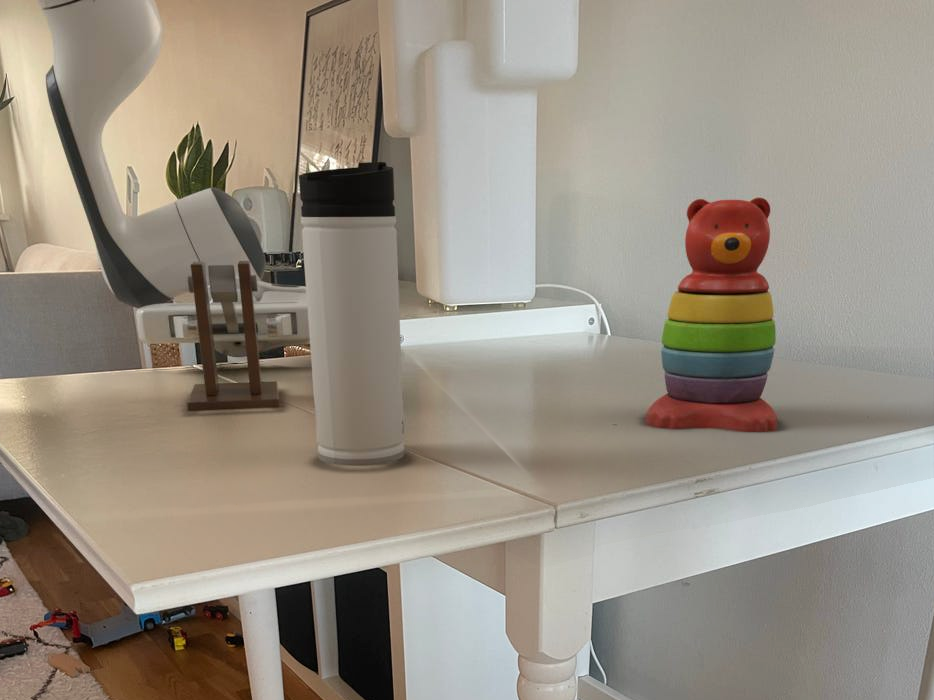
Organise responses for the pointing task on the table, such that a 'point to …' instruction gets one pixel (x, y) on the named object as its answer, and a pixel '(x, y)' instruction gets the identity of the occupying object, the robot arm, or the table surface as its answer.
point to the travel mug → (353, 313)
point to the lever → (225, 298)
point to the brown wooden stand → (212, 391)
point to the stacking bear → (720, 324)
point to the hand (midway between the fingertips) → (232, 329)
